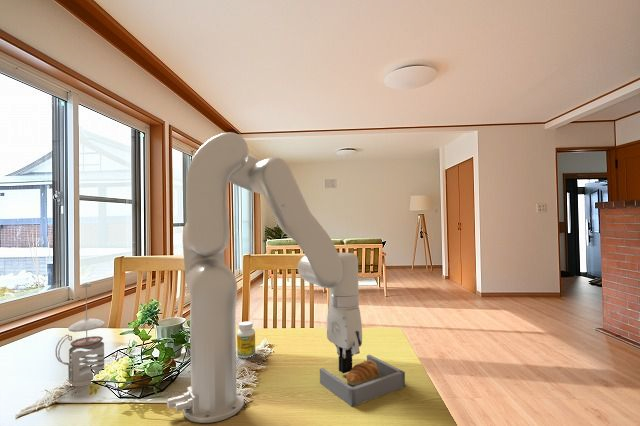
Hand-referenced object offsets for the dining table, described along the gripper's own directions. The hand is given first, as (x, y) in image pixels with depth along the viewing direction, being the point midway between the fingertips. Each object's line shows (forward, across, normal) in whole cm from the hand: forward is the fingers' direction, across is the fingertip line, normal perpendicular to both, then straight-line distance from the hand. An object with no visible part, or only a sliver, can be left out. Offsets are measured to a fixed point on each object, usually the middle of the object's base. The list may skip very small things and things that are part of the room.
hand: (345, 370), depth 91 cm
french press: (+1, -36, -58) cm, 68 cm away
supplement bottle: (+1, -27, -17) cm, 32 cm away
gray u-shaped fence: (+1, +7, 0) cm, 7 cm away
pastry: (+1, +4, +2) cm, 5 cm away
